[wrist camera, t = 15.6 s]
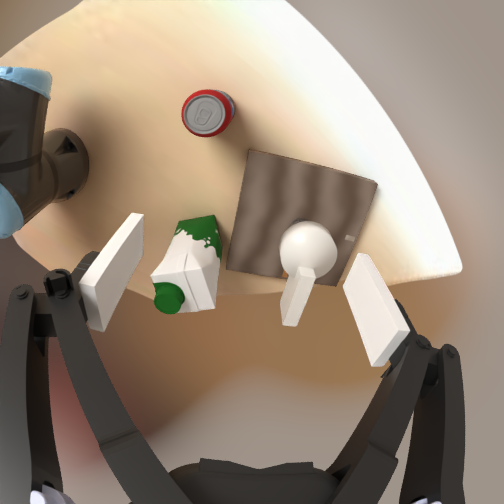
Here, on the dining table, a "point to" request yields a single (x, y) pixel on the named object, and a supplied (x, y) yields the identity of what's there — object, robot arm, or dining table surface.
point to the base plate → (295, 211)
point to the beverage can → (207, 112)
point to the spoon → (303, 265)
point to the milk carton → (189, 268)
